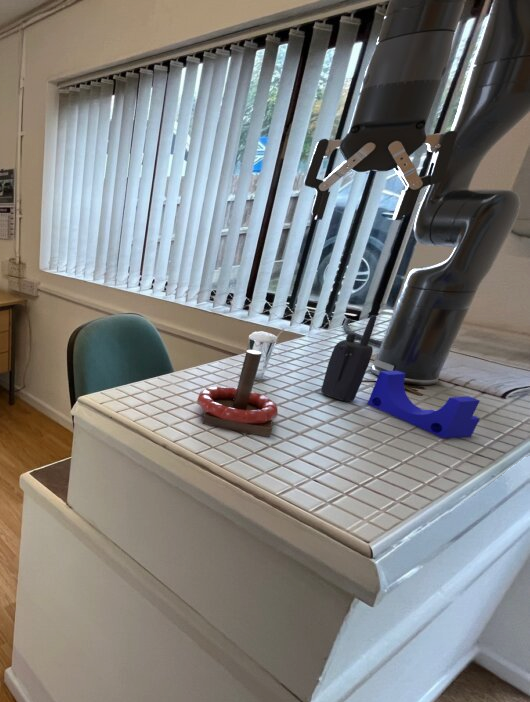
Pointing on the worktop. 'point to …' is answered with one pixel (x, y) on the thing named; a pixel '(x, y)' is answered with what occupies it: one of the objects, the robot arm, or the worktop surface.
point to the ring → (237, 415)
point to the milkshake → (262, 348)
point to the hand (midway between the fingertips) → (356, 219)
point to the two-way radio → (348, 365)
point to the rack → (242, 400)
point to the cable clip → (443, 422)
